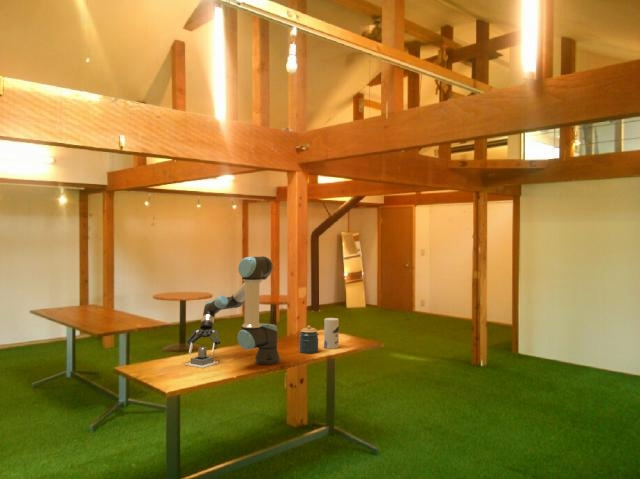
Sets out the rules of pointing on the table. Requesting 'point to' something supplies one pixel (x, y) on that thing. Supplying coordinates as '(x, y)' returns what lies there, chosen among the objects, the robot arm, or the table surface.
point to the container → (331, 333)
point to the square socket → (202, 362)
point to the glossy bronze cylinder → (202, 353)
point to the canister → (308, 340)
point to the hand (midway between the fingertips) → (201, 353)
